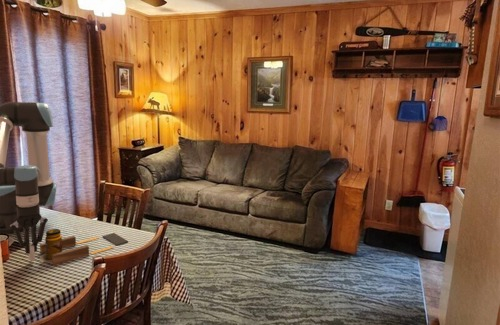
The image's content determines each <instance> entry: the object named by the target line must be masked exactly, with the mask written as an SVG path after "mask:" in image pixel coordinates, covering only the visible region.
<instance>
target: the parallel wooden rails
mask: <svg viewBox="0 0 500 325" xmlns="http://www.w3.org/2000/svg"><path fill="white" fill-rule="evenodd" d="M76 239H77V238H76V236H75V235H72V236H68V237H62V252H60V253H56V254H52V261H51V265H53V266H57V265H61V264H63V263H67V262H71V261H73V260H77V259H81V258H84V257H87V256H90V246H89V245H88V244H85V245H81V246H79V247H75V246H76V245H77V243H76V242H77V241H76ZM71 247H75V248H71ZM66 248H71V249H68V250H64V249H66ZM39 249H40V252H39V253H40V254H41V255H46V243H45V242H43V243H40V244H39ZM63 250H64V251H63Z"/></svg>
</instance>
